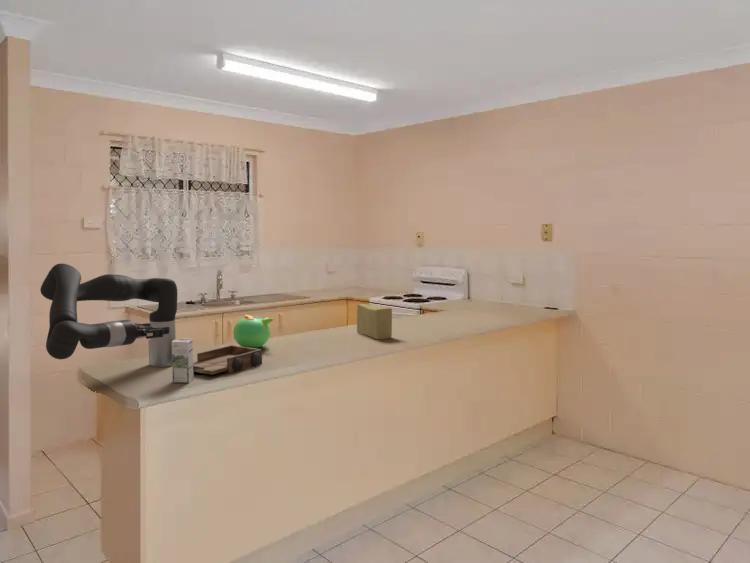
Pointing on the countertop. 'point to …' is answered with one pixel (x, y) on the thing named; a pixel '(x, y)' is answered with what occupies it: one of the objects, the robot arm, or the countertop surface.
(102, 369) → the countertop surface
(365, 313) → the olive rectangular block
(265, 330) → the green ball creature
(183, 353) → the syrup box
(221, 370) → the tailgate
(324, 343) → the countertop surface
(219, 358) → the cart
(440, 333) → the countertop surface
